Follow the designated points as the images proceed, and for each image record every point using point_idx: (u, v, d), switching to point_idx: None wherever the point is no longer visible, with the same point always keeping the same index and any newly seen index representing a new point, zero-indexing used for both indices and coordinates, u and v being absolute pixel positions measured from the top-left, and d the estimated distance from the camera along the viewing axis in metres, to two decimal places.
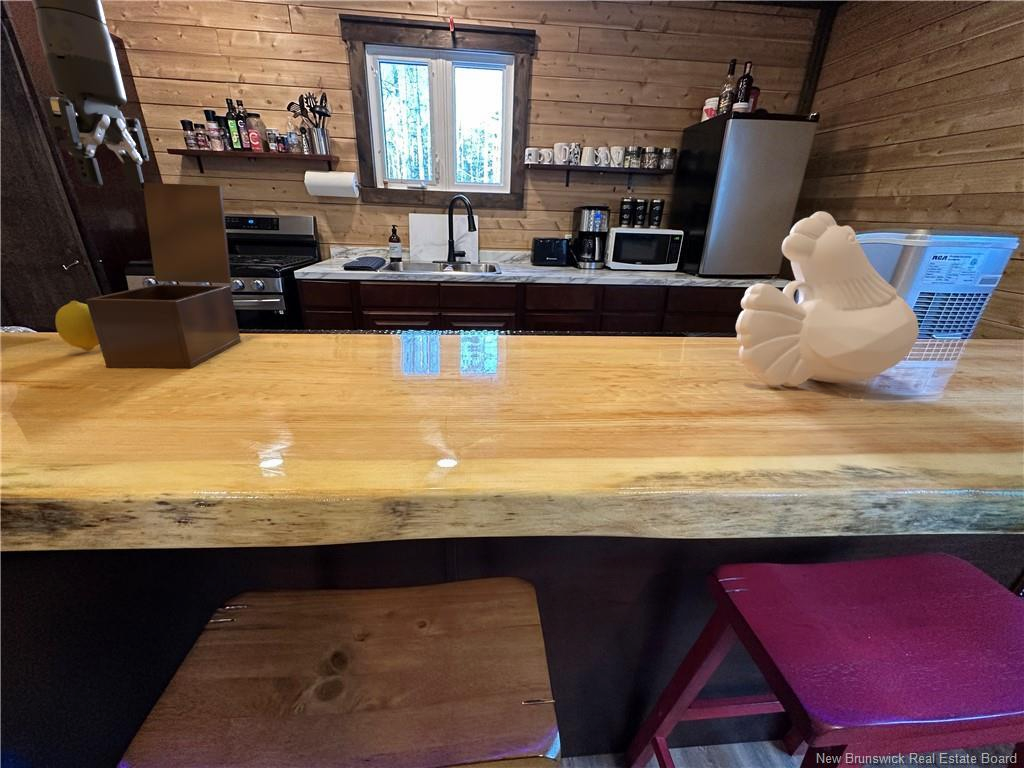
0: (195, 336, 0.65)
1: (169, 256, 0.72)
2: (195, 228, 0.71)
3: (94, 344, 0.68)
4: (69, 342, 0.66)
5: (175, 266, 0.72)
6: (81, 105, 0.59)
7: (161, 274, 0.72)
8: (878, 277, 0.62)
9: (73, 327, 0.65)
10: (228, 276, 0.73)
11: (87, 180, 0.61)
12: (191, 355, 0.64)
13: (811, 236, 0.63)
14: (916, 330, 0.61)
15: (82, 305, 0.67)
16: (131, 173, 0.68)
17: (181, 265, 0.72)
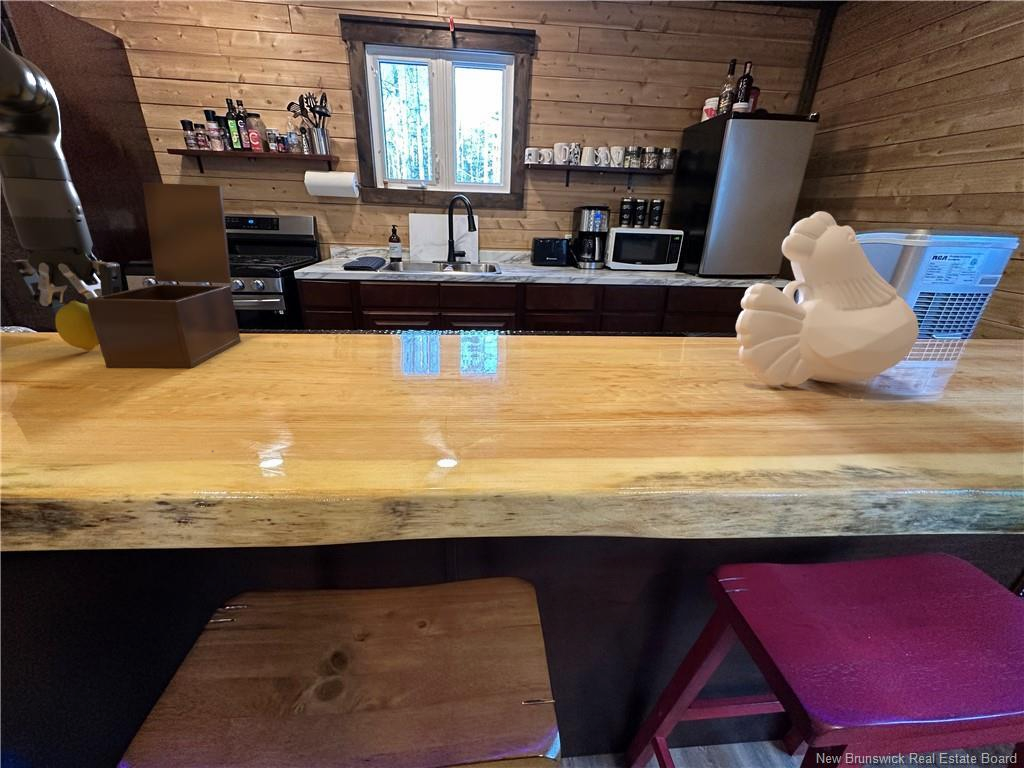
0: (195, 336, 0.65)
1: (169, 256, 0.72)
2: (195, 228, 0.71)
3: (94, 344, 0.68)
4: (69, 342, 0.66)
5: (175, 266, 0.72)
6: None
7: (161, 274, 0.72)
8: (878, 277, 0.62)
9: (73, 327, 0.65)
10: (228, 276, 0.73)
11: None
12: (191, 355, 0.64)
13: (811, 236, 0.63)
14: (916, 330, 0.61)
15: (82, 305, 0.67)
16: None
17: (181, 265, 0.72)
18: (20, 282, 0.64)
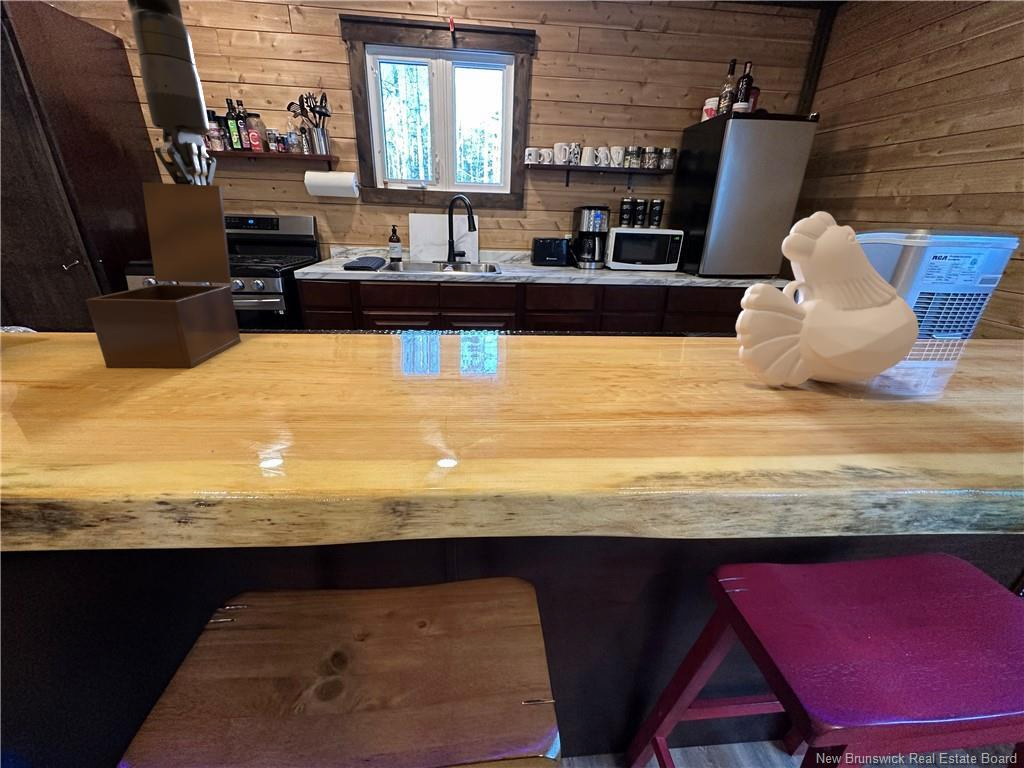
0: (195, 336, 0.65)
1: (169, 256, 0.72)
2: (195, 228, 0.71)
3: None
4: None
5: (175, 266, 0.72)
6: None
7: (161, 274, 0.72)
8: (878, 277, 0.62)
9: None
10: (228, 276, 0.73)
11: None
12: (191, 355, 0.64)
13: (811, 236, 0.63)
14: (916, 330, 0.61)
15: None
16: None
17: (181, 265, 0.72)
18: (183, 168, 0.69)
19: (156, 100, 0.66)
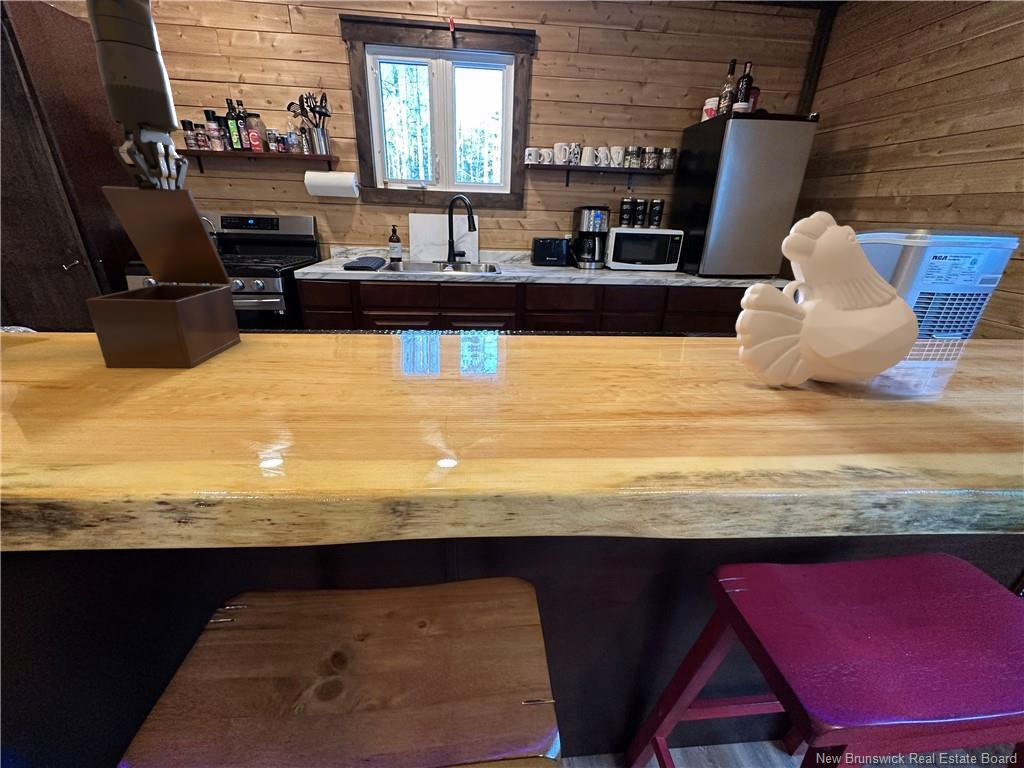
0: (195, 336, 0.65)
1: (160, 261, 0.70)
2: (177, 235, 0.67)
3: None
4: None
5: (170, 269, 0.71)
6: None
7: (159, 276, 0.72)
8: (878, 277, 0.62)
9: None
10: (226, 278, 0.73)
11: None
12: (191, 355, 0.64)
13: (811, 236, 0.63)
14: (916, 330, 0.61)
15: None
16: None
17: (176, 269, 0.71)
18: (147, 170, 0.61)
19: (114, 93, 0.58)
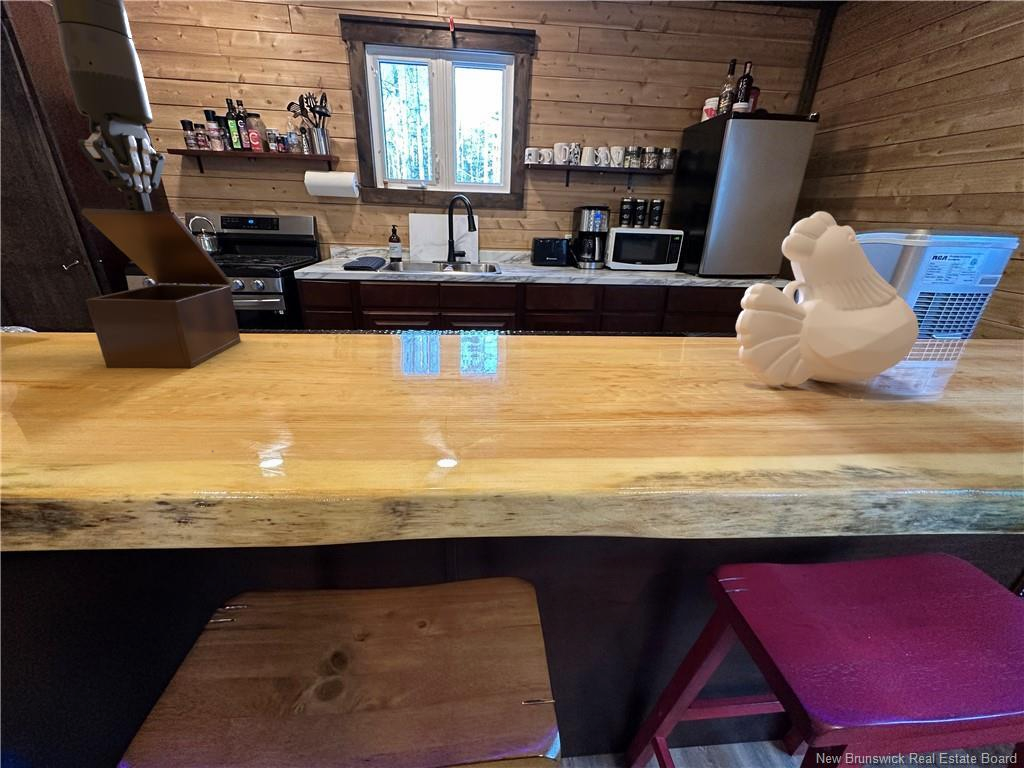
0: (195, 336, 0.65)
1: (157, 268, 0.69)
2: (170, 249, 0.65)
3: None
4: None
5: (168, 274, 0.71)
6: None
7: (158, 279, 0.72)
8: (878, 277, 0.62)
9: None
10: (226, 280, 0.73)
11: None
12: (191, 355, 0.64)
13: (811, 236, 0.63)
14: (916, 330, 0.61)
15: None
16: None
17: (174, 273, 0.70)
18: (116, 166, 0.56)
19: (79, 81, 0.53)
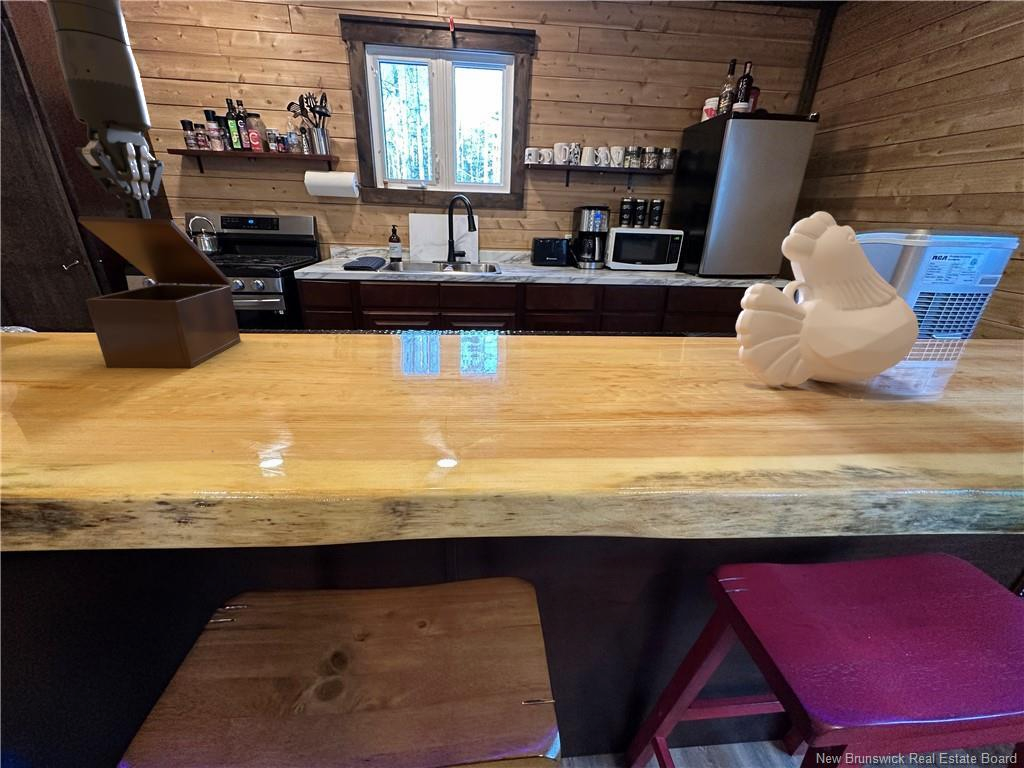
0: (195, 336, 0.65)
1: (157, 270, 0.69)
2: (168, 253, 0.65)
3: None
4: None
5: (168, 275, 0.71)
6: None
7: (158, 279, 0.72)
8: (878, 277, 0.62)
9: None
10: (226, 280, 0.73)
11: None
12: (191, 355, 0.64)
13: (811, 236, 0.63)
14: (916, 330, 0.61)
15: None
16: None
17: (174, 275, 0.70)
18: (114, 173, 0.56)
19: (77, 88, 0.52)
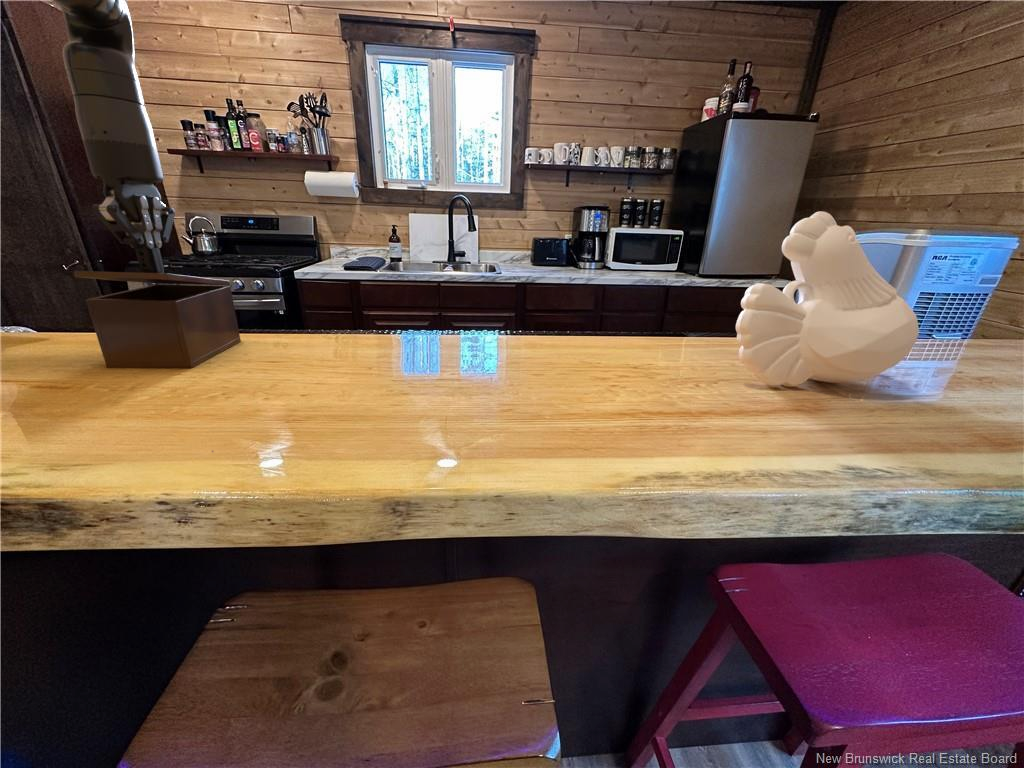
0: (195, 336, 0.65)
1: None
2: None
3: None
4: None
5: (169, 283, 0.71)
6: None
7: (159, 283, 0.72)
8: (878, 277, 0.62)
9: None
10: (226, 283, 0.73)
11: None
12: (191, 355, 0.64)
13: (811, 236, 0.63)
14: (916, 330, 0.61)
15: None
16: None
17: (174, 283, 0.71)
18: (129, 226, 0.58)
19: (94, 148, 0.55)
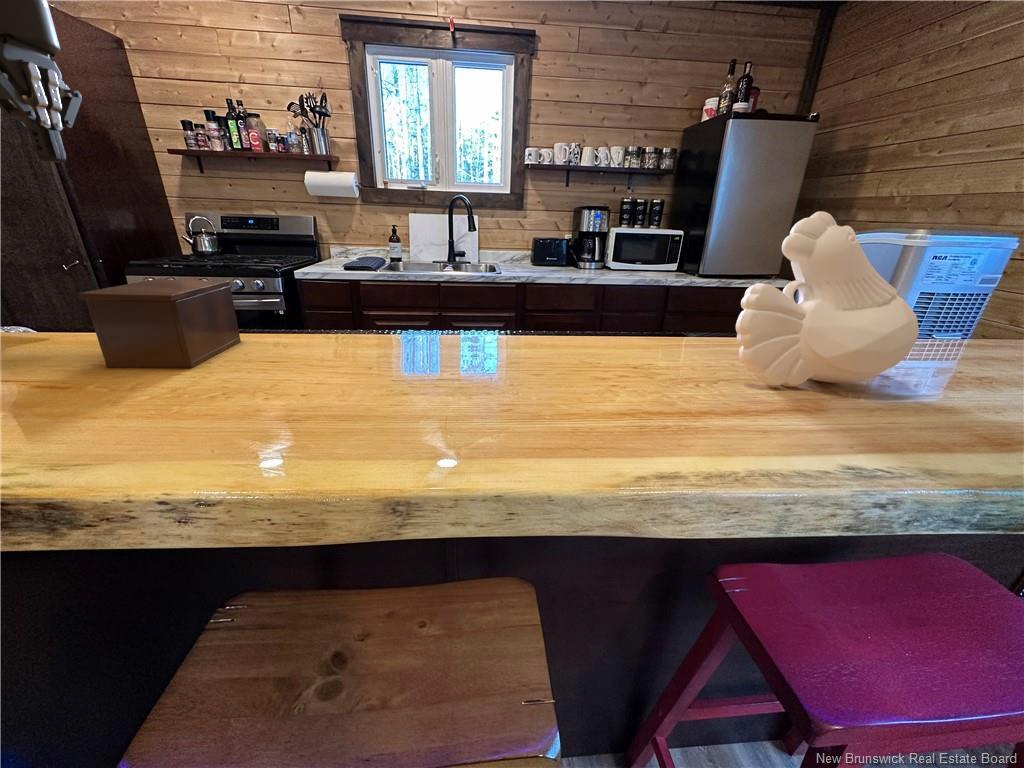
0: (195, 336, 0.65)
1: None
2: None
3: None
4: None
5: None
6: None
7: None
8: (878, 277, 0.62)
9: None
10: (226, 285, 0.73)
11: None
12: (191, 355, 0.64)
13: (811, 236, 0.63)
14: (916, 330, 0.61)
15: None
16: None
17: None
18: (13, 94, 0.51)
19: None
